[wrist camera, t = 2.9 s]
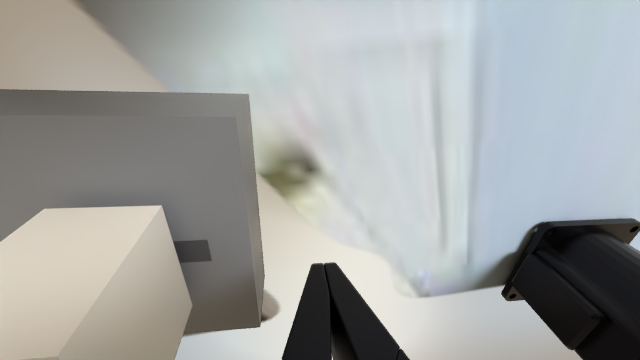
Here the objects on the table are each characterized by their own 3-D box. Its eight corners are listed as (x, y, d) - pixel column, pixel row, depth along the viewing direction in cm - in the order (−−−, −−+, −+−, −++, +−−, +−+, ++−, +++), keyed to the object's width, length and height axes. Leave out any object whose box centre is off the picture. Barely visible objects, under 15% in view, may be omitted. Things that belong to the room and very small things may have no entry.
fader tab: (161, 204, 8) (49, 364, 4) (192, 306, 10) (139, 467, 7) (43, 207, 8) (-198, 387, 4) (104, 312, 10) (-7, 487, 6)
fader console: (248, 94, 10) (235, 118, 7) (264, 275, 15) (260, 328, 12) (-367, 82, 8) (-693, 109, 5) (-113, 298, 13) (-216, 368, 10)
